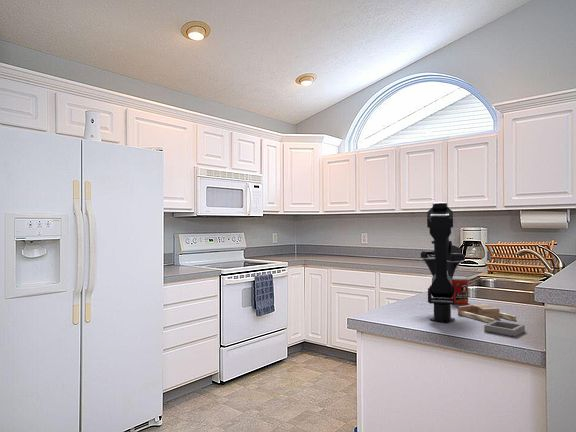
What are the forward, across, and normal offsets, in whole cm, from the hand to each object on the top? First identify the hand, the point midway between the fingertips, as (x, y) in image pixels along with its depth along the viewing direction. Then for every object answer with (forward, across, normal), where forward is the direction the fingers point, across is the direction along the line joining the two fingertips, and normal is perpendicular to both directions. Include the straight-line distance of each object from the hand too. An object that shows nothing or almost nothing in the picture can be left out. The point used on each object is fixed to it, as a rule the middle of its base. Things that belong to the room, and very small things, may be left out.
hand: (442, 277), depth 165 cm
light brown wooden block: (+13, -16, -6) cm, 21 cm away
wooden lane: (+13, -16, -5) cm, 21 cm away
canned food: (+13, +8, -16) cm, 22 cm away
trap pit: (+13, -33, +5) cm, 36 cm away
